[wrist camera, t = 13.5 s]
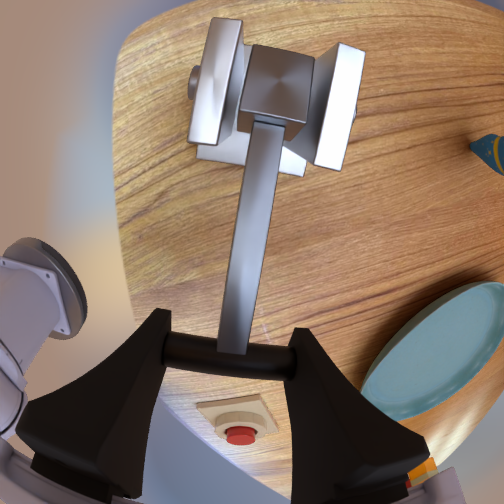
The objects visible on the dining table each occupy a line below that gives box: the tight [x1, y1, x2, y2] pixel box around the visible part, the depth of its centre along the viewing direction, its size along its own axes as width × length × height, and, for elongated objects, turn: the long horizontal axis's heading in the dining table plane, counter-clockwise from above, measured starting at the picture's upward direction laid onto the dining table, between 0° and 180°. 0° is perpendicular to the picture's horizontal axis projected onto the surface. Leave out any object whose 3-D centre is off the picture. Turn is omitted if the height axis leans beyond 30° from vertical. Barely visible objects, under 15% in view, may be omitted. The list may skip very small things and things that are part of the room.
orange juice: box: [408, 457, 438, 487], centre depth 51 cm, size 8×9×20 cm
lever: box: [162, 44, 315, 381], centre depth 9 cm, size 12×5×2 cm, turn 169°
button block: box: [197, 394, 279, 440], centre depth 30 cm, size 10×8×2 cm
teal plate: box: [360, 281, 504, 421], centre depth 26 cm, size 24×24×3 cm
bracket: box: [187, 17, 366, 177], centre depth 11 cm, size 8×7×10 cm
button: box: [226, 426, 255, 445], centre depth 29 cm, size 4×4×2 cm
